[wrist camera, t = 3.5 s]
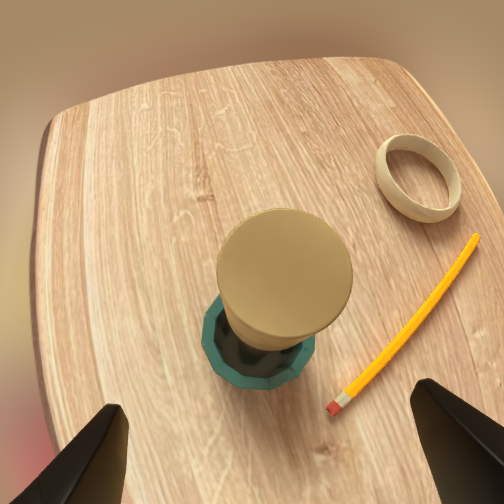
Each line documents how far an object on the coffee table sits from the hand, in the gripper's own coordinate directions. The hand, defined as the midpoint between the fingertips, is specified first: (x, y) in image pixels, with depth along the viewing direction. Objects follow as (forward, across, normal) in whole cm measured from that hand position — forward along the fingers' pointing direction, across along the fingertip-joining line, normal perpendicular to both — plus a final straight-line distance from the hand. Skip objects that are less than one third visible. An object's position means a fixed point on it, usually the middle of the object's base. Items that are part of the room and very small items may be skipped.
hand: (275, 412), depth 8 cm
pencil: (+10, -12, +5) cm, 16 cm away
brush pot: (+9, 0, +5) cm, 11 cm away
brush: (+9, 0, +5) cm, 10 cm away
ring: (+18, -14, -3) cm, 23 cm away
